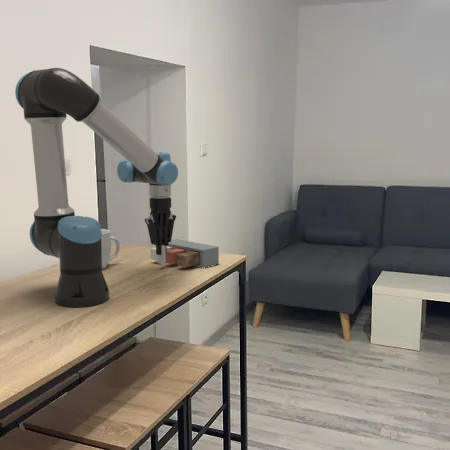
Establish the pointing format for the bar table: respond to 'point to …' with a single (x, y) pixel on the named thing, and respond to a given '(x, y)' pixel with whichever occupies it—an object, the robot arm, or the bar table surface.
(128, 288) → the bar table surface
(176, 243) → the socket block
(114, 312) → the bar table surface
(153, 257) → the cream peg
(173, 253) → the brick peg
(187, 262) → the walnut peg
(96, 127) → the robot arm
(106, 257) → the mug
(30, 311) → the bar table surface
